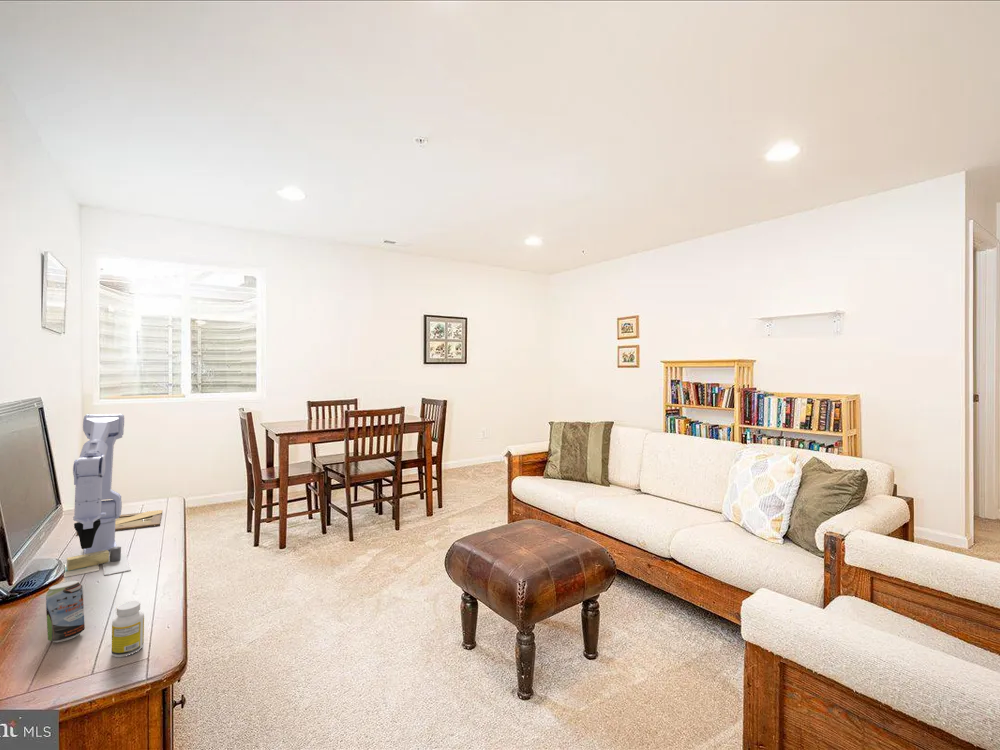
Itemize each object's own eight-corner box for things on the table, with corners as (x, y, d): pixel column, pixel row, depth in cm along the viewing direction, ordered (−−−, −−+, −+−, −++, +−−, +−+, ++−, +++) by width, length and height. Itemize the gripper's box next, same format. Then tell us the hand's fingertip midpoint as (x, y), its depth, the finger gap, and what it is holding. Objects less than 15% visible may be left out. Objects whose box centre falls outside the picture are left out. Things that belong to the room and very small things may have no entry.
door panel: (64, 564, 142) (65, 551, 142) (126, 553, 152) (126, 541, 152) (63, 583, 130) (64, 569, 130) (130, 570, 140) (131, 557, 140)
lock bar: (106, 559, 145) (107, 549, 145) (108, 561, 144) (109, 551, 144) (66, 568, 138) (66, 557, 138) (67, 570, 137) (68, 560, 137)
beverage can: (62, 648, 101) (64, 592, 101) (35, 643, 103) (37, 587, 103) (92, 632, 107) (94, 579, 107) (66, 628, 109) (68, 575, 109)
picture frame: (162, 514, 194) (86, 522, 181) (162, 509, 194) (86, 517, 181) (159, 527, 178) (76, 537, 166) (159, 522, 178) (76, 532, 166)
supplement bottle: (122, 643, 104) (124, 598, 104) (149, 643, 104) (150, 598, 104) (104, 658, 98) (106, 611, 98) (132, 658, 99) (133, 611, 99)
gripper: (108, 503, 131) (106, 552, 131) (105, 492, 142) (103, 537, 142) (73, 507, 127) (71, 558, 127) (73, 495, 137) (72, 542, 137)
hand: (86, 547), depth 134 cm, fingers closed
